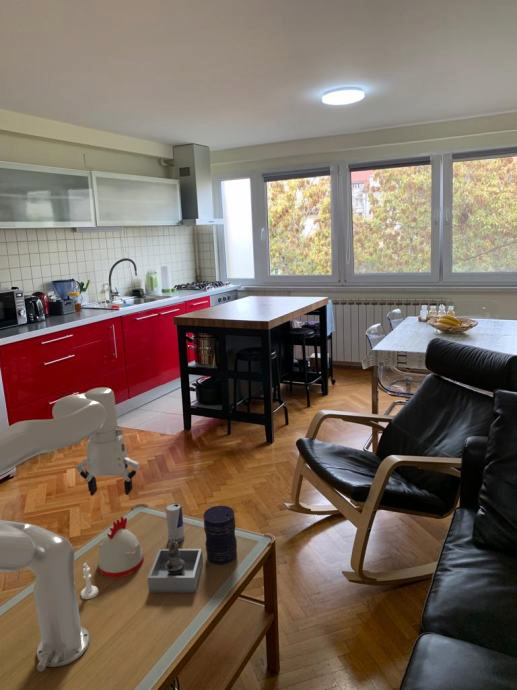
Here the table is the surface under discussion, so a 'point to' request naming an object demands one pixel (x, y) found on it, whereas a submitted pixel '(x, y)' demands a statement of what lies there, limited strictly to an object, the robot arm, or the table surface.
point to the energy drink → (175, 522)
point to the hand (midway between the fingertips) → (111, 492)
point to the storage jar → (220, 535)
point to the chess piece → (88, 585)
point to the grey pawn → (174, 561)
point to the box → (175, 584)
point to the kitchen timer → (120, 552)
